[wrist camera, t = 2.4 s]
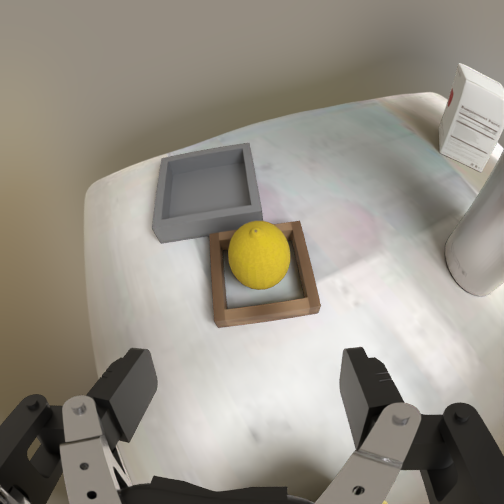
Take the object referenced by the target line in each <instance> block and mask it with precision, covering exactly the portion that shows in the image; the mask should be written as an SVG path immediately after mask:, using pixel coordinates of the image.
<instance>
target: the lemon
mask: <svg viewBox="0 0 504 504" xmlns="http://www.w3.org/2000/svg"><path fill="white" fill-rule="evenodd" d="M228 258H229V265H230V267H231V270H232V272H233V274H234V275H235V277H236V278H237V279H238V281H240V282H241V283H242V284H243V285H245V286H247V287H249V288H252V289H258V290H261V289H268V288H271V287H273V286H275V285H276V284H278V283H279V282H280V281H281V280H282V279H283V278H284V276H285V274H286V273H287V271H288V268H289V264H290V248H289V245H288V242H287V239H286V237H285V236H284V234H283V233H282V232H281V230H280V229H279V228H277V227H276V226H275V225H273V224H271V223H269V222H265V221H252V222H249V223H246V224H244V225H243V226H241V227H240V228H239V229H238V230H237V231H236V232H235V233H234V235H233V237H232V238H231V241H230V245H229V249H228Z"/></svg>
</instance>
